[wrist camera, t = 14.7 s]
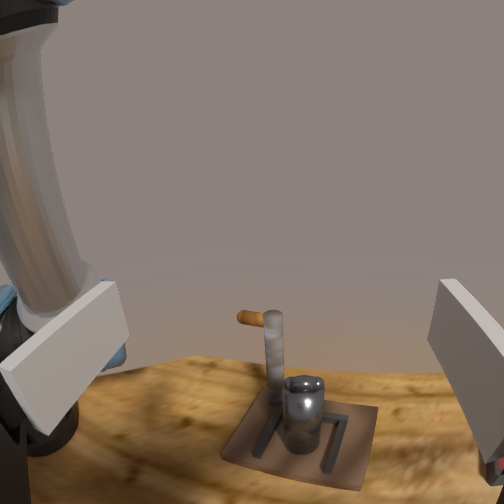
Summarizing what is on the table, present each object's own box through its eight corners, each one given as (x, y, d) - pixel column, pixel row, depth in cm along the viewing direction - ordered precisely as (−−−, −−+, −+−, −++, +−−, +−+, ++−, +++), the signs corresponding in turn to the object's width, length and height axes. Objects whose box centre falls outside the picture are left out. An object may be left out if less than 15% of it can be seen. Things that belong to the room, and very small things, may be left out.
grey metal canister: (282, 454, 32) (280, 392, 29) (285, 428, 37) (283, 365, 33) (319, 454, 31) (325, 392, 28) (319, 428, 36) (324, 365, 32)
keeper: (209, 454, 34) (184, 362, 29) (252, 392, 46) (243, 302, 41) (359, 491, 26) (392, 401, 21) (376, 413, 38) (396, 319, 33)
